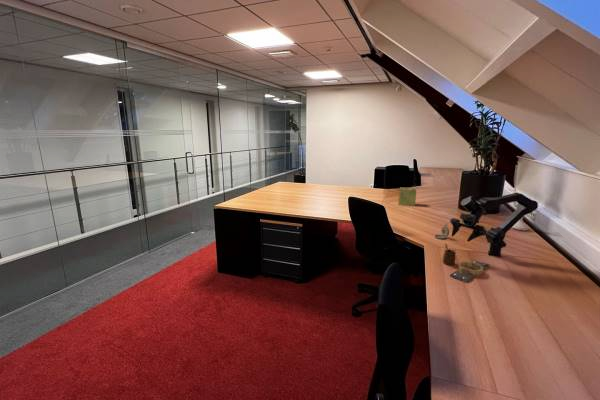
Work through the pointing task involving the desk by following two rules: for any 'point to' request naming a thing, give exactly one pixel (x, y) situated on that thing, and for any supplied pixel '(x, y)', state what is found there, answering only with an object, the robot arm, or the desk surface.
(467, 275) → the wooden ring bracket
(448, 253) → the utensil holder
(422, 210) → the desk surface
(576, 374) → the desk surface
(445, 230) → the pocket watch
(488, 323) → the desk surface
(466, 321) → the desk surface
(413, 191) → the protein box
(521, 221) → the flower in vase
